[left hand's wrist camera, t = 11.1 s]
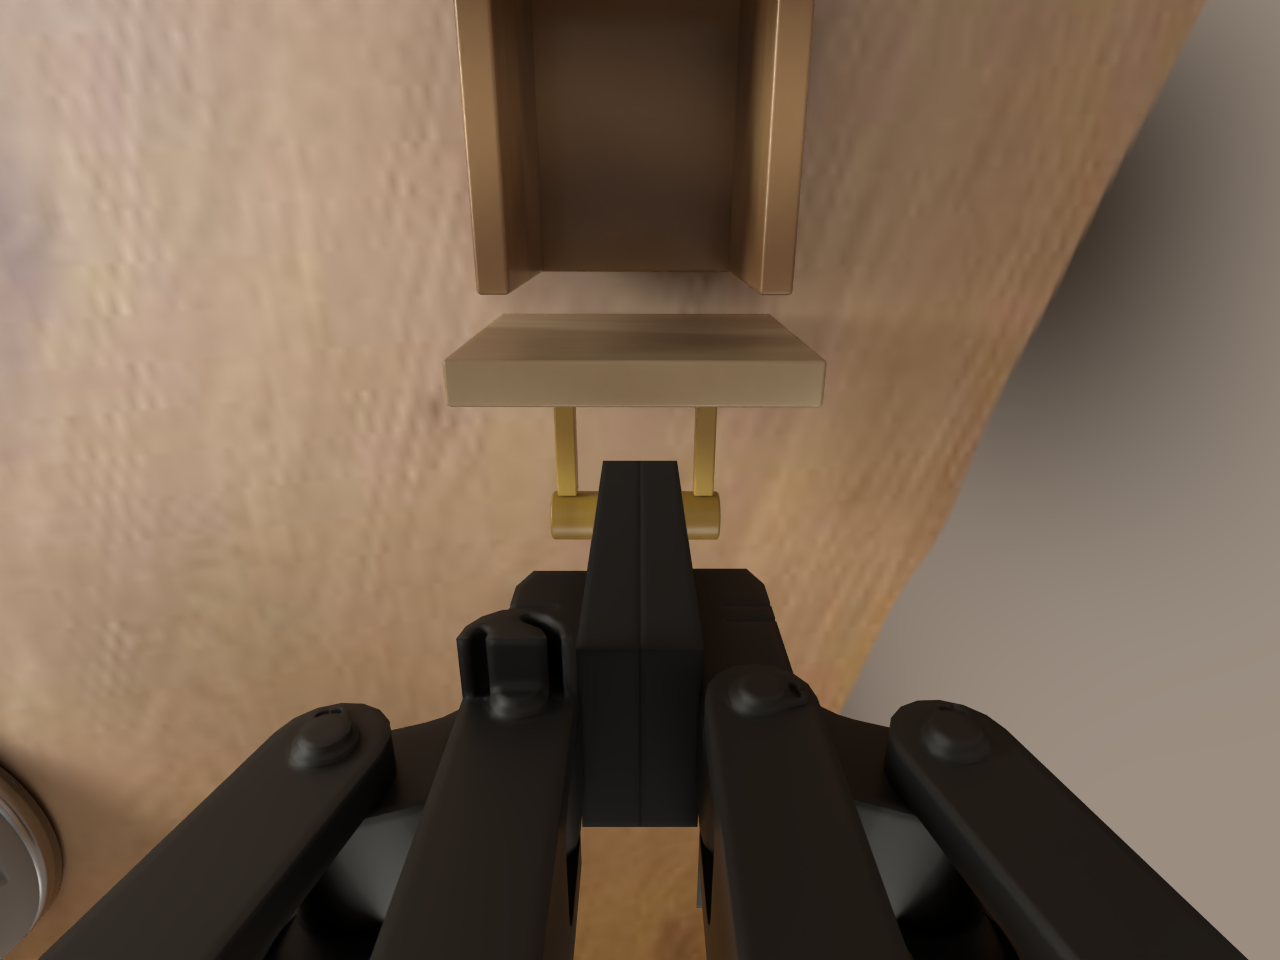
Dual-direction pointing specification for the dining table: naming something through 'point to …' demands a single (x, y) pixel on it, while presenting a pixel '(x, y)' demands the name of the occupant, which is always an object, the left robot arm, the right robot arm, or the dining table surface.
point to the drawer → (634, 210)
